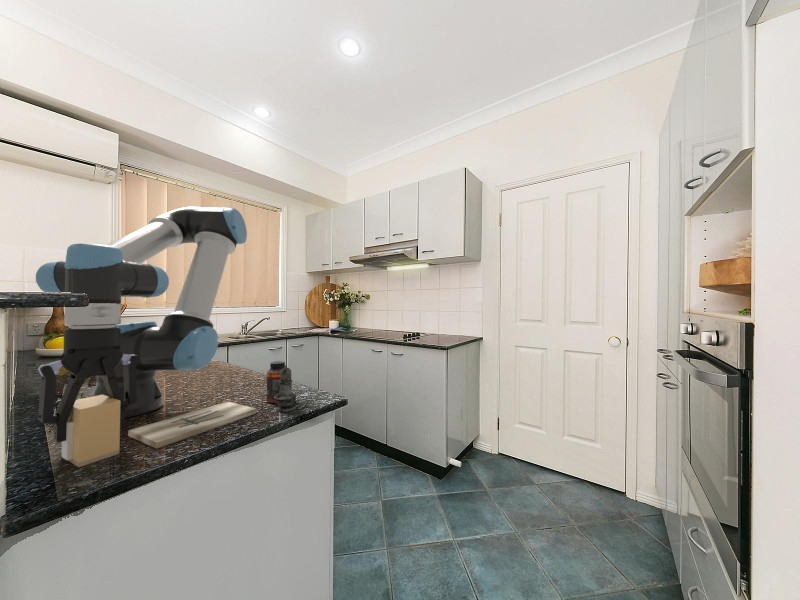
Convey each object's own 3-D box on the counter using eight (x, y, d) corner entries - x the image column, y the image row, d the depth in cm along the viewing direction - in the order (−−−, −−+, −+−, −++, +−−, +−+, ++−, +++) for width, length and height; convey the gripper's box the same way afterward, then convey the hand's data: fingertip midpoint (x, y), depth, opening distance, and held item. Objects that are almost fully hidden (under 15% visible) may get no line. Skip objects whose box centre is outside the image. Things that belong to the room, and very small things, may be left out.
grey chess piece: (300, 405, 85) (301, 362, 85) (291, 413, 79) (291, 367, 79) (280, 405, 85) (281, 362, 85) (269, 412, 79) (270, 366, 80)
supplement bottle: (291, 400, 89) (292, 362, 90) (271, 405, 85) (272, 364, 85) (282, 396, 93) (282, 359, 94) (262, 400, 89) (263, 362, 89)
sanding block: (61, 456, 56) (63, 402, 56) (101, 444, 61) (102, 394, 61) (78, 467, 52) (79, 409, 52) (119, 453, 57) (120, 400, 57)
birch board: (128, 435, 65) (128, 430, 65) (227, 405, 84) (227, 401, 84) (156, 448, 59) (156, 442, 59) (256, 413, 79) (256, 408, 79)
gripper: (22, 331, 47) (18, 481, 47) (161, 324, 63) (158, 435, 63) (9, 329, 51) (5, 468, 50) (143, 323, 67) (141, 428, 67)
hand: (90, 450), depth 57 cm, fingers closed on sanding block, 5 cm apart
